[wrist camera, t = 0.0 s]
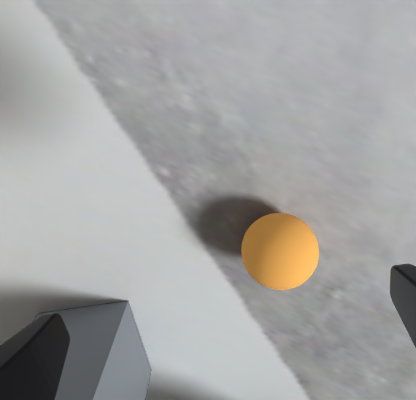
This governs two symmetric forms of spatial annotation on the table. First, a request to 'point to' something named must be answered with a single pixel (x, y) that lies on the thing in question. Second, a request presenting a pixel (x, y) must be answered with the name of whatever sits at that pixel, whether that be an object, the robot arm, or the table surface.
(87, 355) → the grey matte cube
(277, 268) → the ball
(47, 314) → the robot arm
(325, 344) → the table surface
